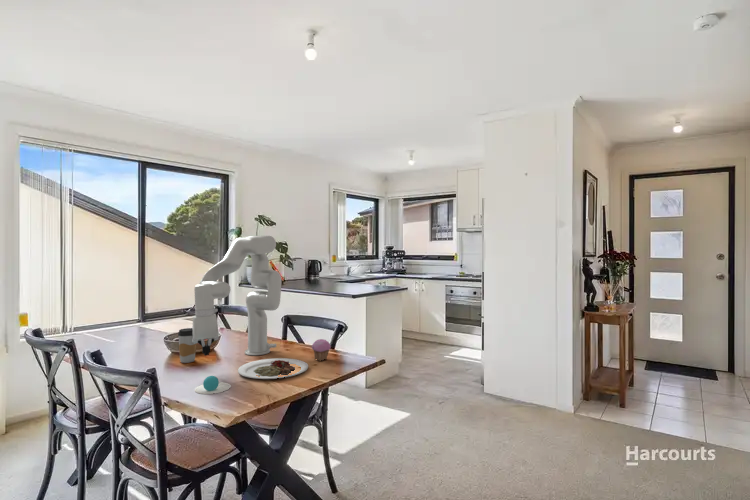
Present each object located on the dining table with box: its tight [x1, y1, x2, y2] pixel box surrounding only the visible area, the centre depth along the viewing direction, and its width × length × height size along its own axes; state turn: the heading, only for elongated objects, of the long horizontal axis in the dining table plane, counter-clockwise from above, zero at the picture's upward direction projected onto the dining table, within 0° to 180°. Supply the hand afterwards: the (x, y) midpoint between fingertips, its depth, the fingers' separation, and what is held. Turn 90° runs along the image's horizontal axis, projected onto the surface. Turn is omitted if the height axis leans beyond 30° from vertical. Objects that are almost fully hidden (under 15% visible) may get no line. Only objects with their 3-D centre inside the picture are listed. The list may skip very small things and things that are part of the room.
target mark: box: [194, 381, 232, 395], centre depth 161 cm, size 13×13×1 cm
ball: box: [202, 375, 220, 391], centre depth 159 cm, size 6×6×6 cm
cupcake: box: [311, 338, 331, 361], centre depth 202 cm, size 9×9×10 cm
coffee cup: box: [177, 327, 197, 364], centre depth 199 cm, size 8×8×15 cm
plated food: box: [237, 357, 309, 380], centre depth 184 cm, size 30×30×3 cm
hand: (206, 354), depth 181 cm, fingers closed
